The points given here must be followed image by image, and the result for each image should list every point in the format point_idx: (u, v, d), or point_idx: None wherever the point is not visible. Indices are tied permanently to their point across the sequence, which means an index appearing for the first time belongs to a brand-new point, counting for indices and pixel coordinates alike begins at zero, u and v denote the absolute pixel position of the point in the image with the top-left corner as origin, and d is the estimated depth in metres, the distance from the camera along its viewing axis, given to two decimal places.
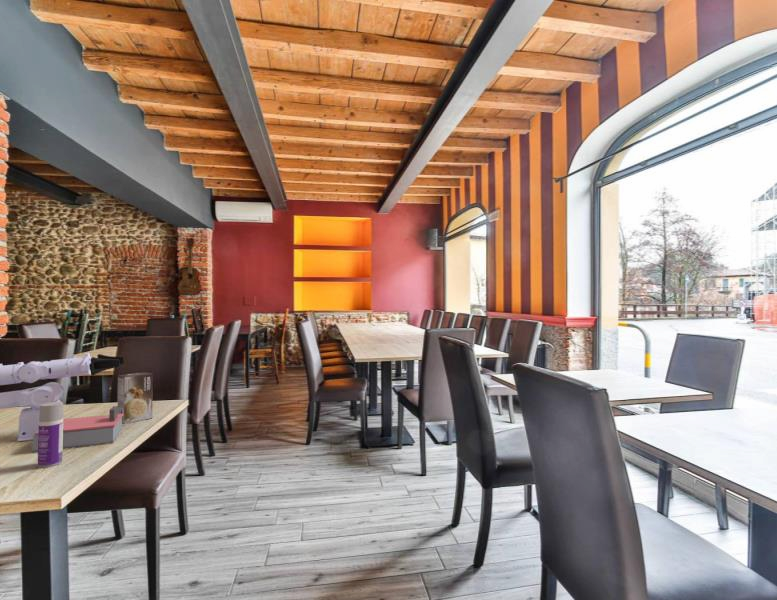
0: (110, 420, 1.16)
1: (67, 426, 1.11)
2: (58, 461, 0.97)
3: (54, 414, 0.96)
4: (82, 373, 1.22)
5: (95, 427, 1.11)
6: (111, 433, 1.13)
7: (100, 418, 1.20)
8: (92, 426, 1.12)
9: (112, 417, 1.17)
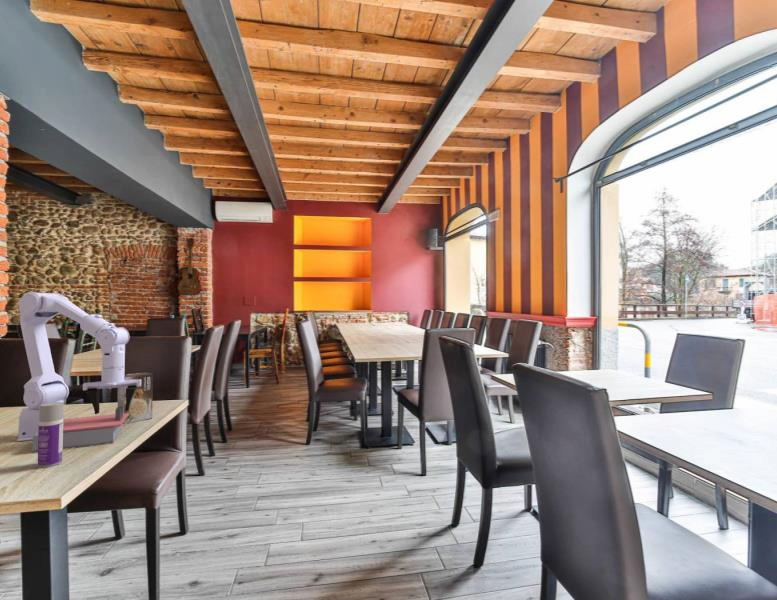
0: (116, 419, 1.17)
1: (73, 425, 1.12)
2: (58, 461, 0.97)
3: (54, 414, 0.96)
4: None
5: (101, 426, 1.12)
6: (111, 433, 1.13)
7: (106, 417, 1.21)
8: (98, 425, 1.12)
9: (118, 416, 1.17)
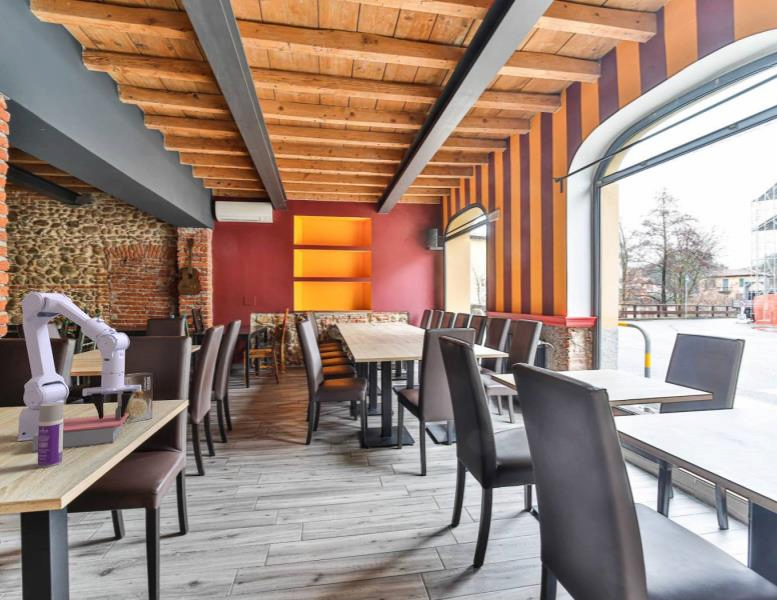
0: (116, 419, 1.17)
1: (73, 425, 1.12)
2: (58, 461, 0.97)
3: (54, 414, 0.96)
4: None
5: (101, 426, 1.12)
6: (111, 433, 1.13)
7: (106, 417, 1.21)
8: (98, 425, 1.12)
9: (118, 416, 1.17)
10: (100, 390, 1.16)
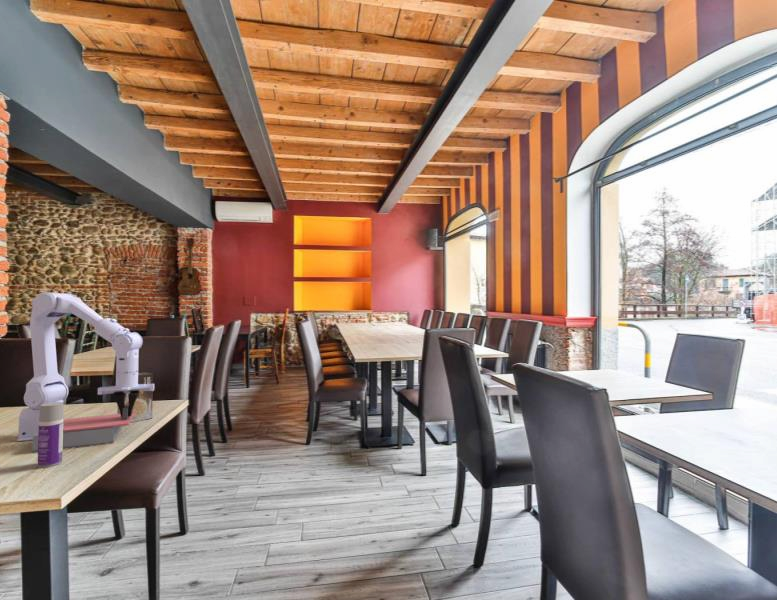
0: (123, 419, 1.18)
1: (81, 425, 1.13)
2: (58, 461, 0.97)
3: (54, 414, 0.96)
4: None
5: (109, 426, 1.13)
6: (111, 433, 1.13)
7: (113, 417, 1.21)
8: (106, 425, 1.13)
9: (125, 416, 1.18)
10: (115, 389, 1.17)
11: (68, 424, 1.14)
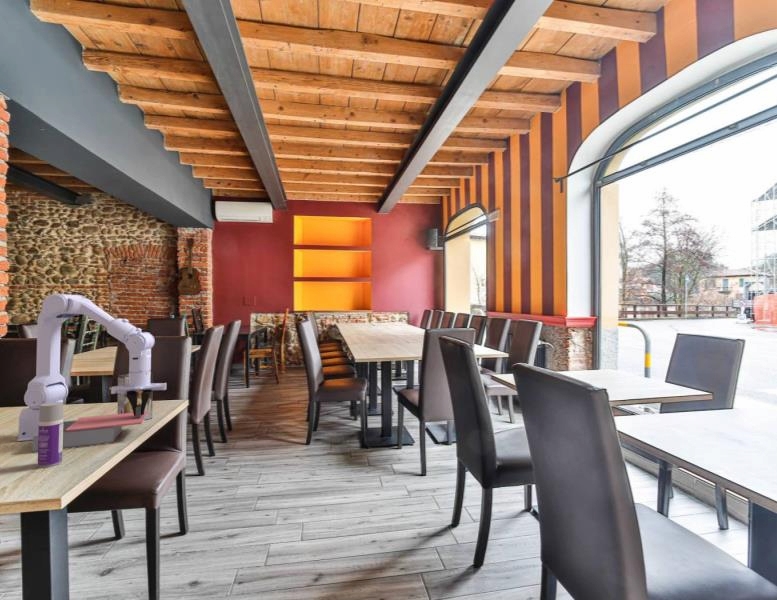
0: (136, 417, 1.19)
1: (95, 423, 1.14)
2: (58, 461, 0.97)
3: (54, 414, 0.96)
4: None
5: (123, 424, 1.14)
6: (111, 433, 1.13)
7: (126, 416, 1.23)
8: (120, 423, 1.15)
9: (138, 415, 1.20)
10: (128, 388, 1.19)
11: (82, 423, 1.15)
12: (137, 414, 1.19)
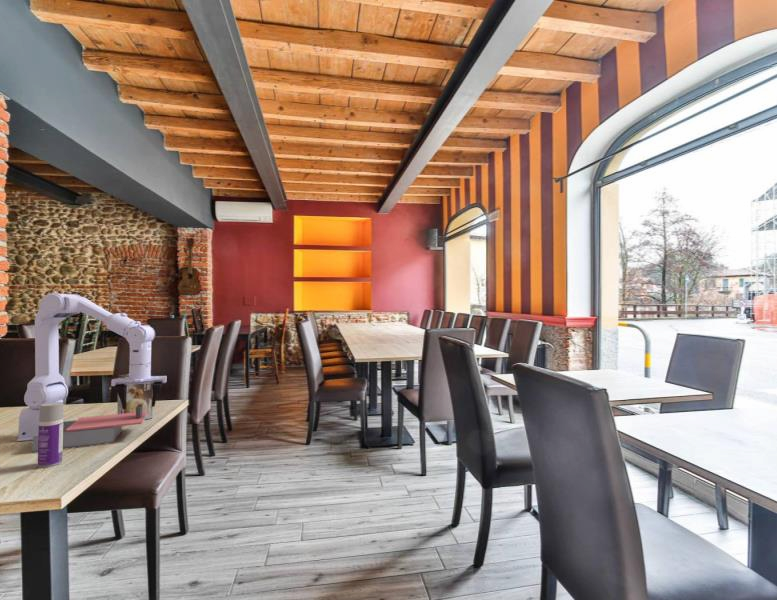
0: (136, 417, 1.19)
1: (95, 423, 1.14)
2: (58, 461, 0.97)
3: (54, 414, 0.96)
4: None
5: (123, 424, 1.14)
6: (111, 433, 1.13)
7: (126, 416, 1.23)
8: (120, 423, 1.15)
9: (138, 415, 1.20)
10: (128, 380, 1.19)
11: (82, 423, 1.15)
12: (137, 414, 1.19)
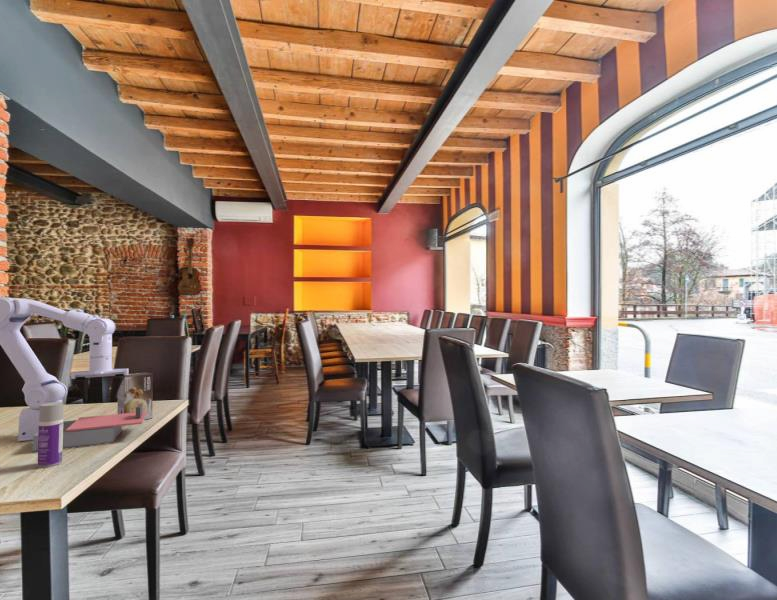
0: (136, 417, 1.19)
1: (95, 423, 1.14)
2: (58, 461, 0.97)
3: (54, 414, 0.96)
4: None
5: (123, 424, 1.14)
6: (111, 433, 1.13)
7: (126, 416, 1.23)
8: (120, 423, 1.15)
9: (138, 415, 1.20)
10: (88, 373, 1.19)
11: (82, 423, 1.15)
12: (137, 414, 1.19)
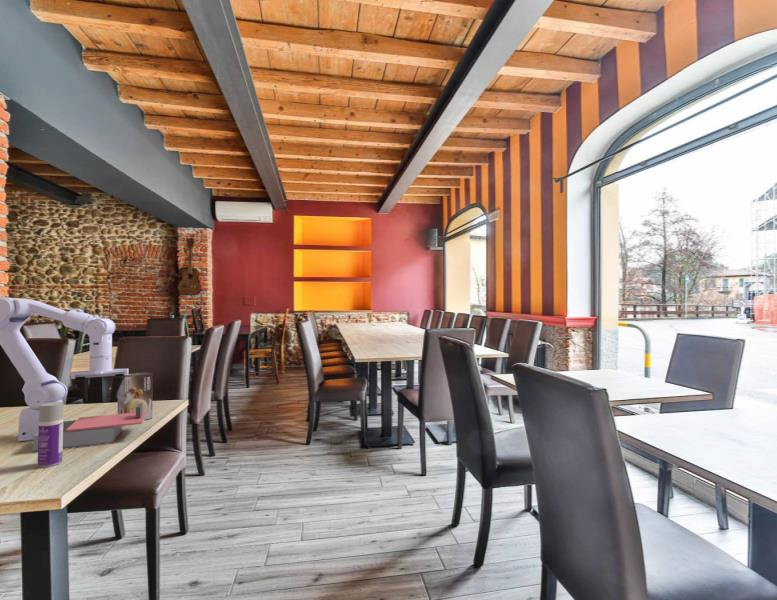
0: (136, 417, 1.19)
1: (95, 423, 1.14)
2: (58, 461, 0.97)
3: (54, 414, 0.96)
4: None
5: (123, 424, 1.14)
6: (111, 433, 1.13)
7: (126, 416, 1.23)
8: (120, 423, 1.15)
9: (138, 415, 1.20)
10: (88, 373, 1.19)
11: (82, 423, 1.15)
12: (137, 414, 1.19)
